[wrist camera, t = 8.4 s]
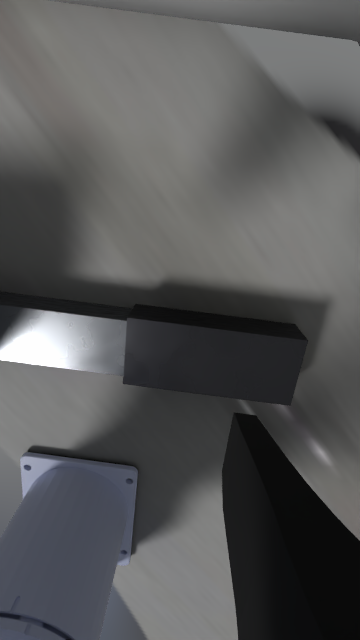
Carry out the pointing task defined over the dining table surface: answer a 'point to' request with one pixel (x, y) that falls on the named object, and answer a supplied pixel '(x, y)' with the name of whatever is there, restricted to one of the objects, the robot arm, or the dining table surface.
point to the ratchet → (156, 346)
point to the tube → (255, 13)
